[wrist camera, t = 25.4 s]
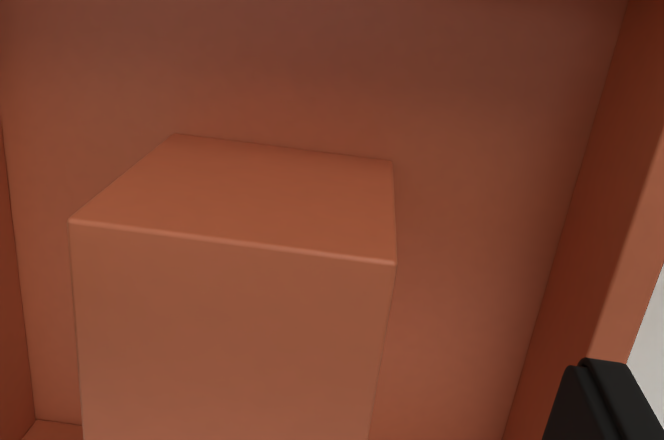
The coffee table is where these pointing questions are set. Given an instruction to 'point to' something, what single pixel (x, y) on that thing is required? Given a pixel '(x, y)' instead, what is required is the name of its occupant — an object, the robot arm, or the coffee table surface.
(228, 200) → the block
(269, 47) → the terracotta bin
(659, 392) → the coffee table surface
